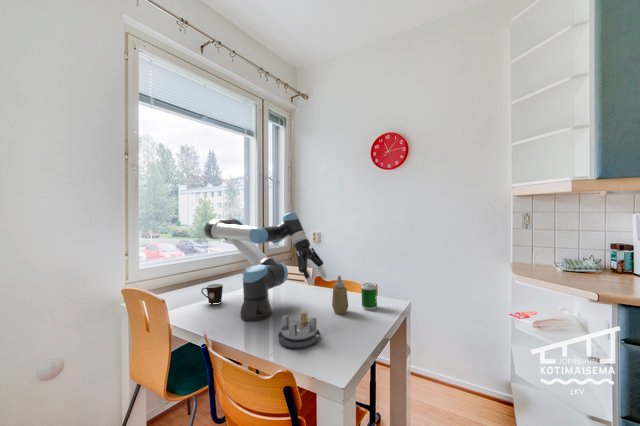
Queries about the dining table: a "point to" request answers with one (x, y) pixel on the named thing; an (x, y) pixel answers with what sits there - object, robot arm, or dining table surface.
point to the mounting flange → (300, 344)
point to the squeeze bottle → (339, 297)
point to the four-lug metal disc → (299, 328)
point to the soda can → (369, 296)
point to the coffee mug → (214, 293)
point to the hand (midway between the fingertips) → (318, 281)
